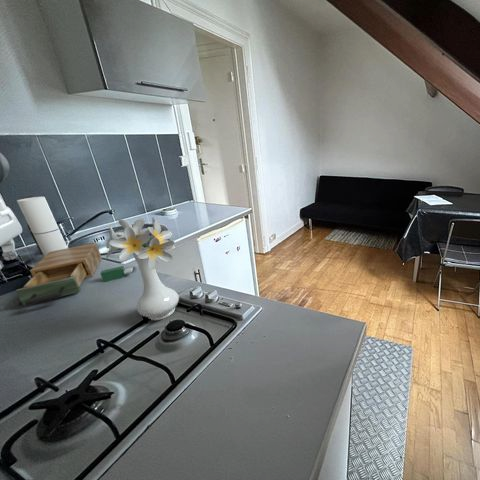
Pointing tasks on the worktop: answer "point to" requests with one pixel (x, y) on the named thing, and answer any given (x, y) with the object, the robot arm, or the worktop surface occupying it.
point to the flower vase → (147, 264)
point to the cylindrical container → (42, 224)
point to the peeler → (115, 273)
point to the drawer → (53, 283)
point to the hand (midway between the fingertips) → (5, 264)
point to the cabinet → (71, 259)
